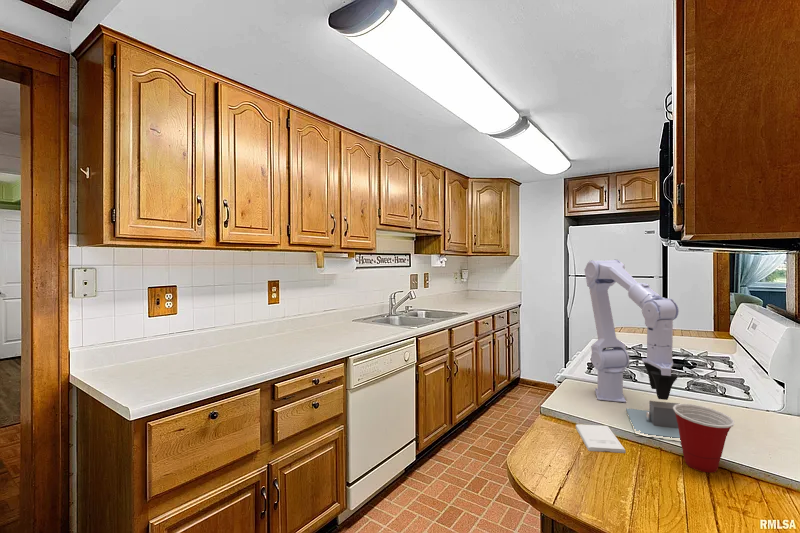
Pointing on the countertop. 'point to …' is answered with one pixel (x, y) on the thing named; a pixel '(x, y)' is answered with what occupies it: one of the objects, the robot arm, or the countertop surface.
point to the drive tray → (649, 424)
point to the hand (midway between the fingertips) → (659, 393)
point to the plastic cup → (702, 435)
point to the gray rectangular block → (663, 414)
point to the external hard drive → (599, 438)
